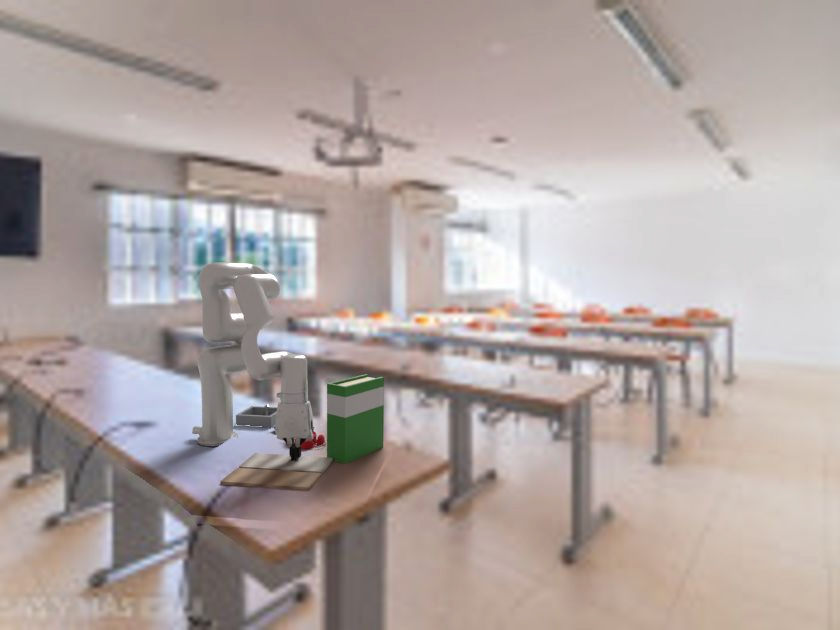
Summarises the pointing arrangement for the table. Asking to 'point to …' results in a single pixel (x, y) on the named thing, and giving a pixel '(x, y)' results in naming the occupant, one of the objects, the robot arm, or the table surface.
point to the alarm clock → (313, 442)
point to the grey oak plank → (287, 463)
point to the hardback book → (354, 417)
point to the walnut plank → (271, 478)
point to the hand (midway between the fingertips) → (295, 458)
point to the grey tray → (257, 417)
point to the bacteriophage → (266, 411)
